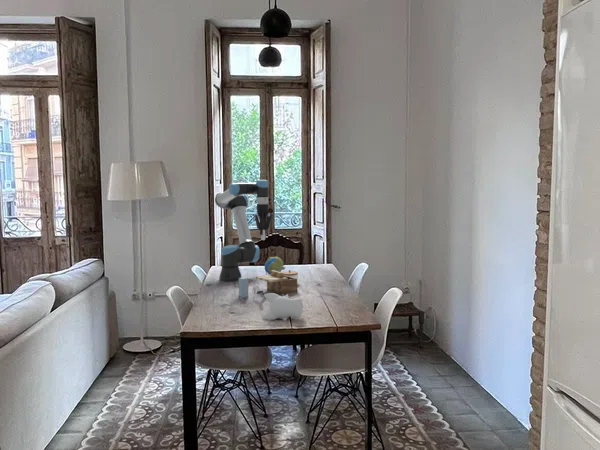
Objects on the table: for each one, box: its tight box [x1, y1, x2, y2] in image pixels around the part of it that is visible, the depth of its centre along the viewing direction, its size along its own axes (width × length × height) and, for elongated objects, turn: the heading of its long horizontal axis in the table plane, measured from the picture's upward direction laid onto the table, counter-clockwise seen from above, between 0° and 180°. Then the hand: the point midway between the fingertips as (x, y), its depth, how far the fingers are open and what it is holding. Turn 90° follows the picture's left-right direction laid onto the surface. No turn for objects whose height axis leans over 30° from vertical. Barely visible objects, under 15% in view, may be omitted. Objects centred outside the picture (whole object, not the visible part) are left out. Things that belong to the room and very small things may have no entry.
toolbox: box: [266, 275, 298, 295], centre depth 332 cm, size 16×12×8 cm
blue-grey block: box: [238, 276, 249, 298], centre depth 317 cm, size 4×4×11 cm
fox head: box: [261, 292, 304, 322], centre depth 269 cm, size 13×17×20 cm
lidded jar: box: [281, 269, 299, 279], centre depth 352 cm, size 11×11×9 cm
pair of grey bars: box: [256, 289, 270, 296], centre depth 324 cm, size 8×4×1 cm, turn 35°
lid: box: [255, 270, 288, 283], centre depth 327 cm, size 17×13×4 cm
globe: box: [264, 255, 286, 275], centre depth 385 cm, size 14×16×15 cm
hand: (263, 239), depth 350 cm, fingers closed
